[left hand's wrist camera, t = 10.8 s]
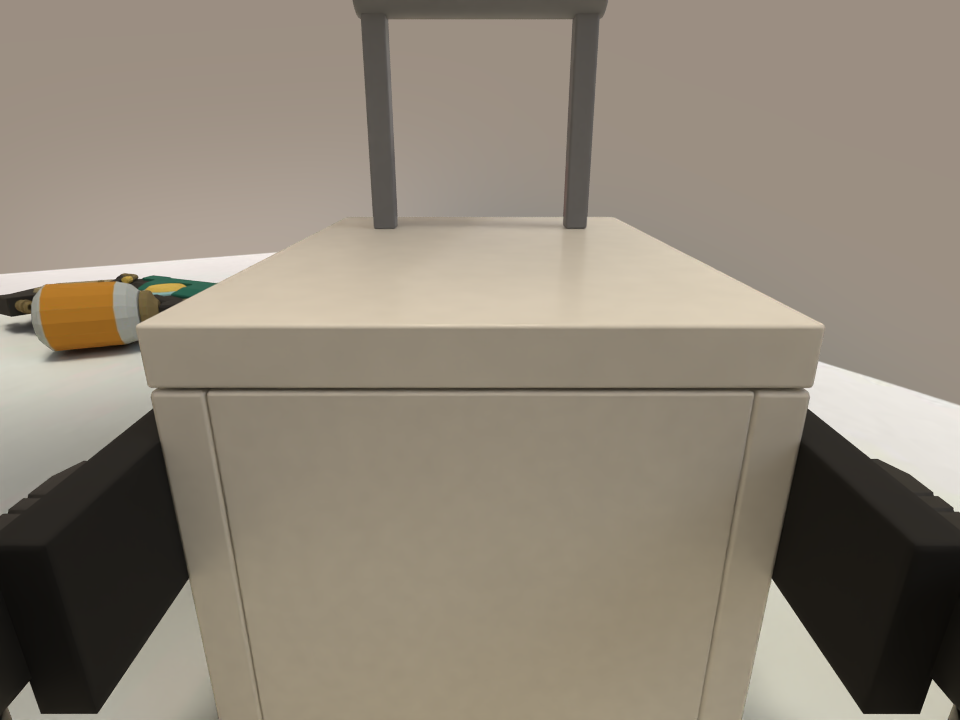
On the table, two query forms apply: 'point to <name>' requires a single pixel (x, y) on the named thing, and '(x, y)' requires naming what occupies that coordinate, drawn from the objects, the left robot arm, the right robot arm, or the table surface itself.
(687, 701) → the chest
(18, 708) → the table surface
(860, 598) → the left robot arm
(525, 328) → the lid
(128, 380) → the table surface
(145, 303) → the spray gun
